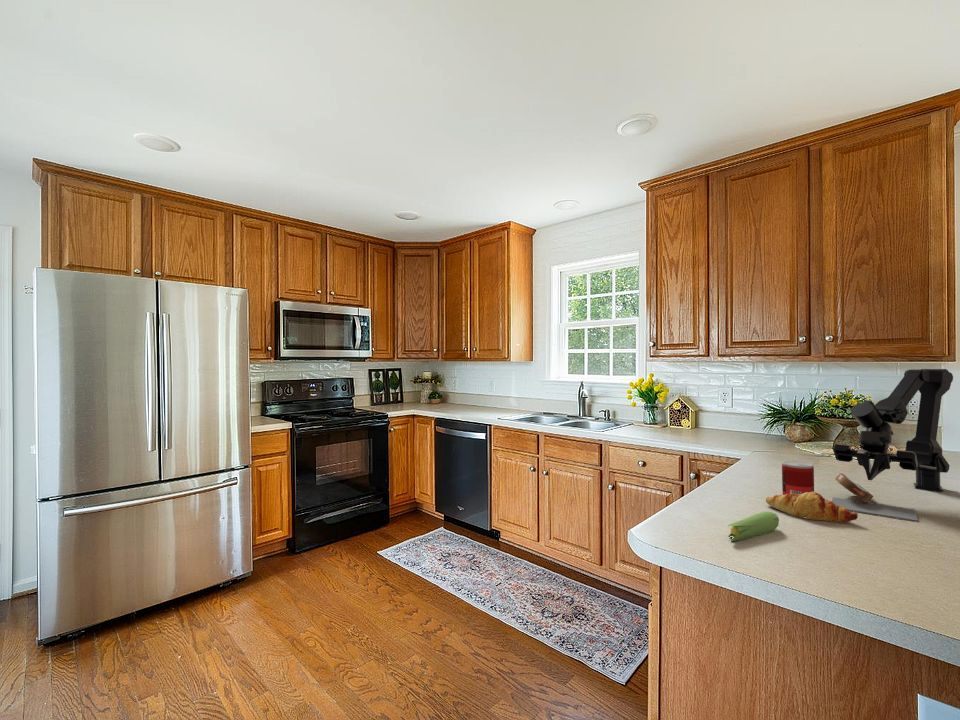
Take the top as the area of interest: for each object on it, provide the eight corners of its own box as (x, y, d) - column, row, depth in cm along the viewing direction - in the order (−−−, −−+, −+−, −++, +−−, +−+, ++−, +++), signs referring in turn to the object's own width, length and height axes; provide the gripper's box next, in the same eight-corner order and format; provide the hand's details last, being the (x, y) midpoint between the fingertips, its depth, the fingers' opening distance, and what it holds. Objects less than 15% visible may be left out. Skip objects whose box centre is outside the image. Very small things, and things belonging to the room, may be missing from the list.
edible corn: (787, 515, 111) (769, 504, 115) (735, 531, 103) (717, 520, 106) (781, 532, 113) (764, 522, 117) (730, 550, 104) (712, 538, 108)
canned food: (820, 503, 133) (820, 466, 133) (793, 503, 133) (792, 466, 133) (802, 495, 140) (801, 460, 140) (776, 495, 140) (776, 460, 141)
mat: (832, 498, 137) (832, 497, 137) (914, 510, 125) (914, 509, 125) (830, 507, 128) (830, 506, 128) (918, 521, 116) (918, 520, 116)
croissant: (762, 520, 130) (756, 498, 127) (772, 497, 135) (767, 476, 133) (856, 540, 113) (851, 515, 111) (863, 513, 119) (859, 489, 117)
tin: (859, 495, 140) (830, 477, 144) (866, 487, 139) (837, 470, 143) (870, 506, 127) (839, 486, 131) (878, 497, 127) (846, 478, 130)
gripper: (834, 418, 142) (824, 457, 135) (915, 423, 127) (909, 468, 120) (841, 440, 147) (832, 479, 140) (920, 448, 132) (914, 492, 125)
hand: (869, 479), depth 131 cm, fingers closed
